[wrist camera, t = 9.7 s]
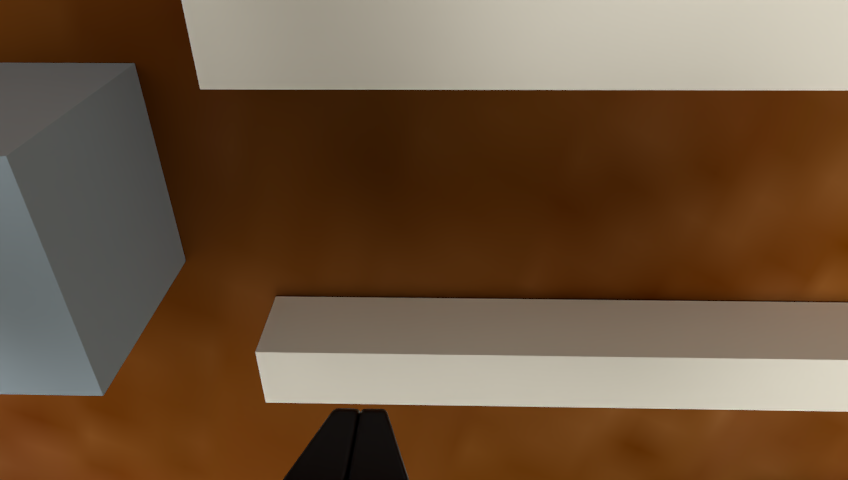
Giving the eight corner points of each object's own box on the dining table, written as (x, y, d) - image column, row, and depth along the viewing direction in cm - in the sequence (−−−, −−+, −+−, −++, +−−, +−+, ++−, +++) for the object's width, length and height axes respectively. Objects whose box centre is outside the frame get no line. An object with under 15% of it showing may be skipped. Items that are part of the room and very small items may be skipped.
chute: (905, 352, 20) (960, 413, 18) (284, 344, 20) (265, 402, 18) (1121, -37, 14) (1246, -15, 11) (218, -33, 14) (178, -11, 12)
